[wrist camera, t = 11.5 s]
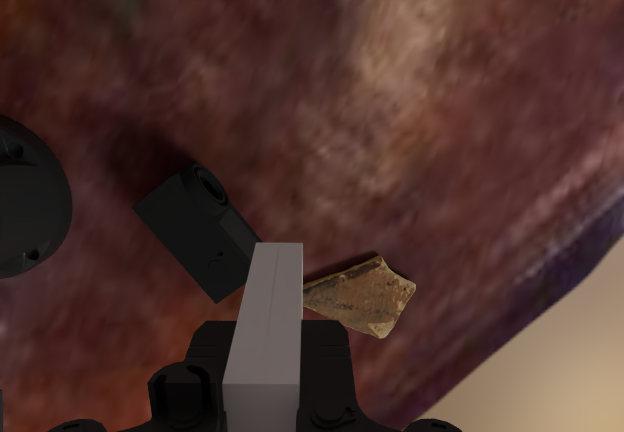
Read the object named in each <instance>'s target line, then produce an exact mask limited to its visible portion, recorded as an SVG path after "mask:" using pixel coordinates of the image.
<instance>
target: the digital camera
mask: <svg viewBox="0 0 624 432" xmlns="http://www.w3.org/2000/svg"><path fill="white" fill-rule="evenodd" d="M132 208H133V209H134V210H135V212H136V213H137V214H138V215H139V216H140V217H141V219H142V220H143V221H144V222H145V223H146V224H147V226H148V227H149V228H150V229H151V230H152V231H153V233H154V234H155V235H156V236H157V237H158V238H159V239H160V241H161V242H162V243H163V244H164V245H165V246H166V248H167V249H168V250H169V251H170V252H171V253H172V254H173V256H174V257H175V258H176V259H177V260H178V261H179V262H180V264H181V265H182V266H183V267H184V268H185V269H186V271H187V272H188V273H189V274H190V275H191V276H192V277H193V278H194V280H195V281H196V282H197V283H198V284H199V285H200V286H201V288H202V289H203V290H204V291H205V292H206V293H207V294H208V296H209V297H210V298H211V299H212V300H213V301H214V302H215V304H217V303H219V302H220V301H221V300H223V299H224V298H226V297H227V296H228V295H230V294H231V293H233V292H234V291H235V290H237V289H238V288H240V287H241V286H243V285H244V284H245V283H246V282H247V278H248V274H249V270H250V266H251V262H252V257H253V253H254V249H255V245H256V243H263V242H262V241H261V239H260V238H259V237H258V236H257V235H256V233H255V232H254V231H253V230H252V228H251V227H250V226H249V225H248V223H247V222H246V221H245V220H244V219H243V217H242V216H241V215H240V214H239V212H238V211H237V210H236V209H235V208H234V206H233V205H232V204H231V203H230V201H229V197H228V195H227V193H226V191H225V189H224V187H223V186H222V185H221V183H220V182H219V180H218V179H217V178H216V177H215V176H214V175H213V174H212V173H211V172H210V171H209V170H208V169H207V168H205V167H204V166H202V165H200V164H198V162H193V163H192V164H190V165H188V166H187V167H185V168H183V169H182V170H180V171H178V172H177V173H175V174H174V175H172V176H170V177H169V178H168V179H167V180H165V181H164V182H163V183H162V184H160V185H159V186H158V187H157V188H155V189H154V190H153V191H152V192H150V193H149V194H148V195H146V196H145V197H144V198H143V199H141V200H140V201H139V202H138V203H136V204H135V205H134V206H133V207H132Z"/></svg>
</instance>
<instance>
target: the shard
mask: <svg viewBox="0 0 624 432" xmlns="http://www.w3.org/2000/svg"><path fill="white" fill-rule="evenodd" d="M415 286H416V285H415V284H414V283H412V282H411V281H408V280H406V279H404V278H402V277H401V276H399V275H397V274H395V273H394V272H392V270H390V269H389V268H388V266H387V265H386V263H385V262H384V260H383V259H382V257H381V256H380V255H379V256H377V257H374V258H372V259H370V260H369V261H366V262H364V263H362V264H359V265H355V266H353V267H351V268H349V269H348V270H346V271H343V272H339V273H335V274H332V275H329V276H326V277H324V278H320V279H317V280H315V281H312V282H308V283H306V284H304V285H303V303H302V306H304V307H308V308H309V309H312V310H314V311H316V312H318V313H320V314H322V315H323V316H325V317H327V318H329V319H332V320H339V322H340V323H341V324H342V325H345V326H347V327H351V328H353V329H354V330H357V331H360V332H363V333H369V334H372V335H373V336H376V337H378V338H385V337H386V336H387V335H388V333H389V331H390V330H391V329H392V328H393V327H394V325H395V323H396V321H397V319H398V318H399V316H400V313H401V312H402V310H403V308H404V307H405V305H406V303H407V301H408V299H409V298H410V297H411V296H412V294H413V293H414V291H415Z"/></svg>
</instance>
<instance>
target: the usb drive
mask: <svg viewBox="0 0 624 432" xmlns="http://www.w3.org/2000/svg"><path fill="white" fill-rule="evenodd" d="M0 432H3V405H2V390H0Z"/></svg>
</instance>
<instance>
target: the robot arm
mask: <svg viewBox="0 0 624 432" xmlns="http://www.w3.org/2000/svg"><path fill="white" fill-rule="evenodd" d="M71 217H72V197H71V191H70V187H69V184H68V180H67V178H66V175H65V173H64V171H63V169H62V167H61V165H60V163H59V161H58V160H57V158H56V157H55V155H54V154H53V153H52V151H51V150H50V149H49V148H48V147H47V145H46V144H45V143H44V142H43V141H42V140H41V139H39V138H38V137H37V136H36V135H35V134H34V133H32V132H31V131H29V130H28V129H27V128H25V127H23V126H22V125H20V124H18V123H16V122H14V121H12V120H10V119H7V118H4V117H1V116H0V279H3V278H9V277H13V276H16V275H19V274H22V273H24V272H26V271H28V270H30V269H32V268H33V267H35V266H37V265H38V264H40V263H41V262H43V261H45V260H46V259H47V258H49V257H50V256H51V255H52V254H53V253H54V252H55V251H56V250H57V249H58V248H59V247H60V245H61V244H62V242H63V241H64V239H65V237H66V235H67V232H68V230H69V227H70V223H71ZM302 303H303V243H256V245H255V249H254V253H253V257H252V262H251V266H250V270H249V274H248V278H247V282H246V287H245V291H244V295H243V299H242V303H241V307H240V312H239V316H238V320H237V321H206V322H205V323H204V324H203V325H202V326H200V327H199V328H198V329H197V330H196V331H195V332H194V335H193V337H192V340H191V343H190V347H189V348H188V351H187V354H186V356H185V359H184V361H183V362H176V363H173V364H171V365H168V366H165V367H163V368H162V369H160V370H159V371H157V372H156V373H155V374H153V376H152V377H151V379H150V380H149V381H148V383H147V384H148V391H149V398H150V405H151V412H152V418H151V420H150V421H148V422H146V423H144V424H142V425H139V426H136V427H133V428H130V429H126V430H122V431H118V432H462V431H461V430H460V429H459V428H457V427H455V426H454V425H452V424H450V423H448V422H445V421H441V420H437V419H420V420H417V421H415V422H412V423H410V424H409V425H408V426H407V427H406V428H405V429H404V430H403V431H399V430H395V429H392V428H388V427H385V426H382V425H380V424H377V423H376V422H374V421H372V420H371V419H369V418H368V417H367V416H366V415H365V414H364V413H363V412H362V411H361V409H360V408H359V406H358V403H357V400H356V393H355V385H354V377H353V369H352V362H351V354H350V347H349V338H348V332H347V330H346V329H345V328H344V327H343V325H342V324H341V323H340V322H339V320H302ZM48 432H107V430H106V429H105V427H104V426H103V425H102V424H101V423H99V422H97V421H95V420H92V419H77V420H73V421H69V422H65V423H63V424H61V425H59V426H56V427H54V428H52V429H50V430H49V431H48Z"/></svg>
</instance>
